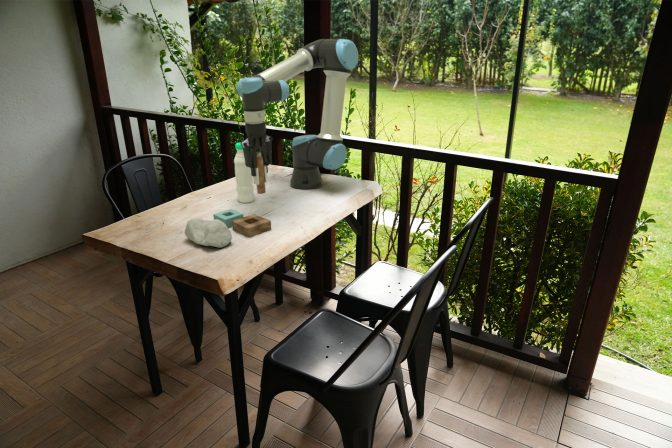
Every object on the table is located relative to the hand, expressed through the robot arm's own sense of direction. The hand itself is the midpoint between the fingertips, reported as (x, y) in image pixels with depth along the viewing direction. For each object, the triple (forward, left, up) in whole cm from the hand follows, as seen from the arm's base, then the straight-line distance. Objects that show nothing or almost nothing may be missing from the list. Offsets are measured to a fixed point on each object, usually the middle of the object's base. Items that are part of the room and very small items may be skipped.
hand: (260, 182), depth 181 cm
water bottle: (-5, -18, -13) cm, 23 cm away
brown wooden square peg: (0, 0, -4) cm, 4 cm away
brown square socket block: (+12, +10, -13) cm, 21 cm away
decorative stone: (+30, +8, -13) cm, 34 cm away
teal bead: (+14, -2, -13) cm, 20 cm away
